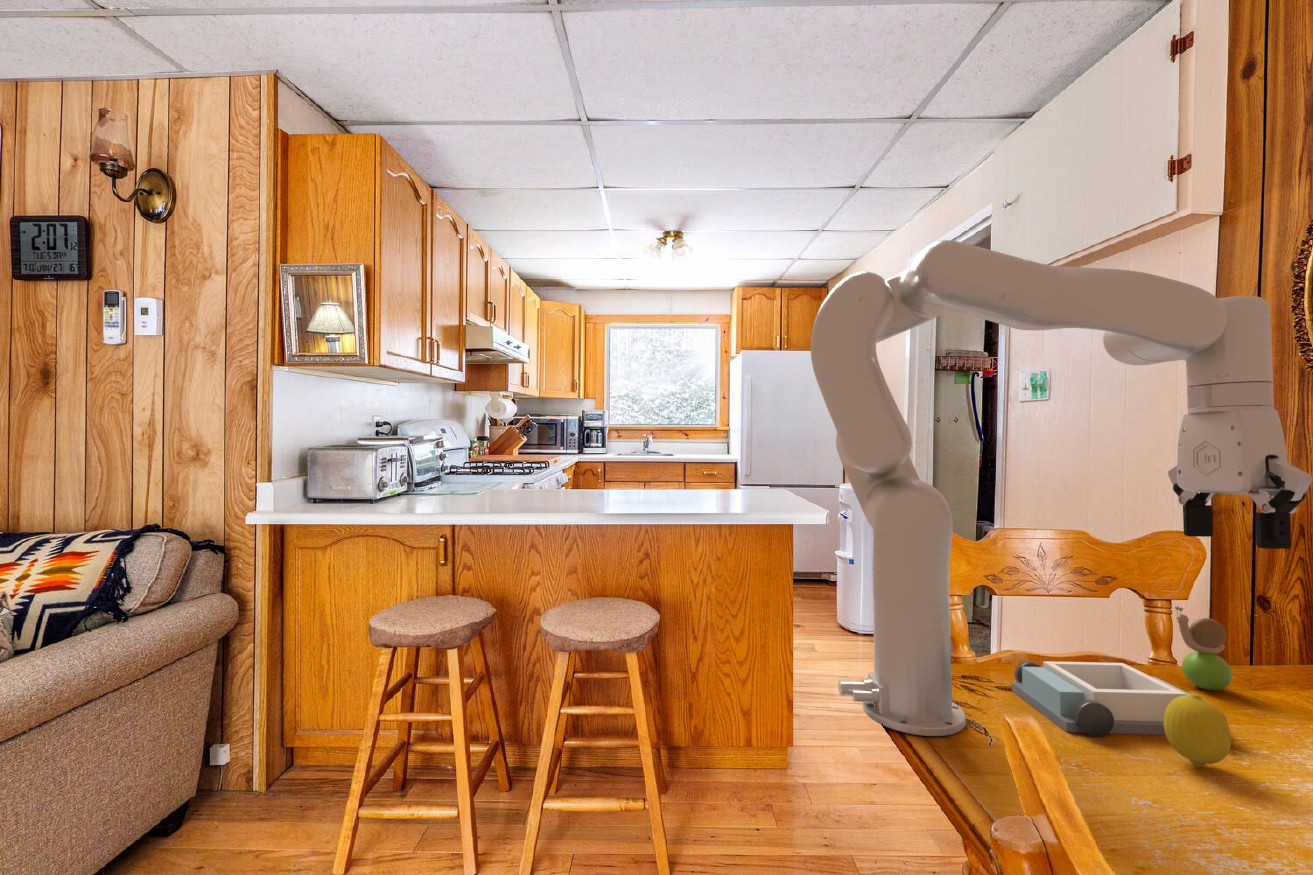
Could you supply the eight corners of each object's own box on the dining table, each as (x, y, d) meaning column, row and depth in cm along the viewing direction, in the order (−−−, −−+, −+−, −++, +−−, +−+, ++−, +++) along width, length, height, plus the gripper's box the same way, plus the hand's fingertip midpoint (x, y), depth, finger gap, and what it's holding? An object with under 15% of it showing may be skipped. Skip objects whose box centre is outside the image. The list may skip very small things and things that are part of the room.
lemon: (1246, 782, 62) (1243, 706, 62) (1185, 777, 63) (1183, 702, 63) (1208, 756, 67) (1206, 686, 68) (1153, 751, 68) (1151, 682, 69)
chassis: (1071, 735, 72) (1070, 697, 72) (1007, 687, 87) (1007, 655, 88) (1236, 741, 71) (1235, 701, 71) (1142, 690, 86) (1141, 658, 86)
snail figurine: (1166, 680, 90) (1163, 602, 90) (1213, 682, 89) (1210, 603, 89) (1193, 695, 84) (1190, 611, 85) (1243, 697, 83) (1240, 612, 84)
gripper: (1141, 406, 80) (1145, 532, 80) (1266, 393, 63) (1272, 553, 62) (1199, 406, 80) (1203, 532, 79) (1340, 393, 62) (1347, 554, 62)
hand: (1233, 541), depth 71 cm, fingers open, 9 cm apart
